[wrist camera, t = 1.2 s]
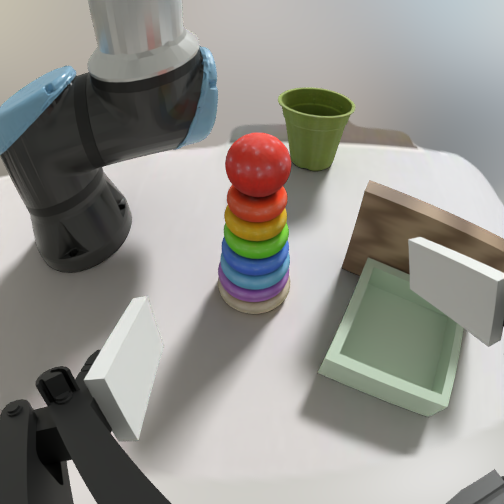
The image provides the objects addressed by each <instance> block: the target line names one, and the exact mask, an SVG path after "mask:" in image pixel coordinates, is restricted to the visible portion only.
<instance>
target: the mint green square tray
mask: <svg viewBox="0 0 504 504" xmlns="http://www.w3.org/2000/svg"><path fill="white" fill-rule="evenodd" d="M463 330H464V328H463V327H462V326H460V325H459V324H458V323H456V322H455V321H454V320H452V319H451V318H450V317H448V316H447V315H445V314H444V313H443V312H441V311H440V310H439V309H437V308H436V307H435V306H433V305H432V304H430V303H429V302H428V301H426V300H425V299H423V298H422V297H421V296H419V295H418V294H416V293H415V292H414V291H412V290H411V289H410V275H409V274H407V273H405V272H402V271H400V270H397V269H395V268H393V267H390V266H388V265H386V264H383V263H381V262H378V261H376V260H373V259H371V258H369V257H368V258H367V261H366V263H365V266H364V268H363V271H362V273H361V276H360V278H359V280H358V283H357V285H356V288H355V290H354V293H353V295H352V298H351V300H350V302H349V305H348V307H347V309H346V312H345V314H344V316H343V319H342V321H341V323H340V325H339V328H338V330H337V332H336V334H335V337H334V339H333V341H332V343H331V345H330V347H329V350H328V352H327V354H326V356H325V358H324V360H323V362H322V364H321V366H320V368H319V370H318V372H317V373H319V374H321V375H324V376H326V377H328V378H330V379H333V380H335V381H337V382H340V383H342V384H344V385H347V386H349V387H351V388H354V389H356V390H359V391H361V392H364V393H366V394H369V395H371V396H373V397H376V398H379V399H381V400H384V401H386V402H389V403H391V404H394V405H397V406H399V407H402V408H404V409H407V410H410V411H413V412H415V413H418V414H421V415H424V416H426V417H430V416H432V415H433V414H435V413H437V412H439V411H441V410H443V409H445V408H447V407H448V403H449V399H450V396H451V391H452V387H453V383H454V379H455V374H456V369H457V364H458V359H459V354H460V349H461V343H462V337H463Z"/></svg>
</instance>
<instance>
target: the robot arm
mask: <svg viewBox="0 0 504 504" xmlns="http://www.w3.org/2000/svg"><path fill="white" fill-rule="evenodd" d="M88 3H89V7H90V13H91V18H92V22H93V27H94V31H95V36H96V40H97V44H98V47H97V48H96V50H95V51H94V52H93V54H92V55H91V57H90V59H89V61H88V70H89V72H88V73H85V74H82V75H79V76H76V71H75V70H74V69H73V68H72V67H71V66H64V67H62V68H58V69H55V70H53V71H51V72H49V73H47V74H45V75H43V76H41V77H39V78H38V79H36V80H34V81H33V82H31V83H30V84H28V85H26V86H25V87H23V88H22V89H20V90H19V91H18V92H17V93H15V94H14V95H13V96H12V97H10V98H9V99H8V100H7V101H6V102H5V103H3V104H2V106H0V157H1V159H2V161H3V163H4V165H5V167H6V169H7V171H8V173H9V175H10V177H11V179H12V181H13V183H14V185H15V187H16V189H17V191H18V193H19V195H20V196H21V198H22V200H23V202H24V204H25V205H26V207H27V209H28V211H29V213H30V215H31V221H32V226H33V231H34V236H35V241H36V245H37V248H38V251H39V253H40V254H41V256H42V257H43V259H44V260H45V262H46V263H47V264H48V265H49V266H50V267H51V268H53V269H55V270H58V271H61V272H77V271H81V270H85V269H88V268H90V267H93V266H95V265H97V264H99V263H100V262H102V261H104V260H105V259H107V258H108V257H109V256H110V255H112V254H113V253H114V252H115V251H116V250H117V249H118V248H119V247H120V246H121V244H122V243H123V242H124V240H125V239H126V237H127V235H128V233H129V231H130V228H131V223H132V216H131V212H130V209H129V206H128V203H127V201H126V199H125V197H124V196H123V194H122V193H121V192H120V191H119V190H118V189H117V187H116V186H115V185H114V184H113V183H112V182H111V180H110V179H109V178H108V177H107V176H106V174H105V173H104V172H103V169H102V167H103V166H107V165H110V164H114V163H117V162H121V161H125V160H129V159H133V158H137V157H141V156H146V155H150V154H154V153H159V152H163V151H168V150H172V149H173V150H176V149H179V148H181V147H183V146H186V145H189V144H193V143H196V142H200V141H202V140H204V139H205V138H206V137H207V136H208V135H209V134H210V132H211V130H212V128H213V125H214V123H215V119H216V112H217V103H218V90H217V87H216V82H217V72H216V66H215V61H214V58H213V56H212V53H211V52H210V51H209V49H207V48H205V47H201V46H200V45H199V39H198V37H197V36H196V35H195V34H194V33H192V32H191V31H189V30H188V29H186V28H185V27H183V7H182V0H88ZM408 245H409V270H410V289H411V290H412V291H414V292H415V293H416V294H418V295H419V296H421V297H422V298H423V299H425V300H426V301H428V302H429V303H430V304H432V305H433V306H435V307H436V308H437V309H439V310H440V311H441V312H443V313H444V314H445V315H447V316H448V317H450V318H451V319H452V320H454V321H455V322H456V323H458V324H459V325H460V326H462V327H463V328H464V329H466V330H467V331H468V332H470V333H471V334H472V335H474V336H475V337H476V338H478V339H479V340H480V341H481V342H483V343H484V344H485V345H487V346H488V347H489V346H491V345H493V344H495V343H496V342H498V341H500V340H501V336H502V331H503V326H504V273H503V272H501V271H499V270H496V269H494V268H492V267H490V266H488V265H485V264H483V263H481V262H479V261H476V260H474V259H472V258H470V257H467V256H465V255H463V254H460V253H458V252H456V251H453V250H451V249H449V248H446V247H444V246H442V245H439V244H437V243H434V242H432V241H429V240H427V239H424V238H422V237H417V238H412V239H408ZM163 348H164V343H163V340H162V338H161V335H160V332H159V329H158V326H157V323H156V320H155V317H154V314H153V311H152V308H151V305H150V302H149V299H148V296H144V297H138V298H133V299H132V301H131V303H130V304H129V306H128V307H127V309H126V310H125V312H124V314H123V315H122V317H121V318H120V320H119V322H118V323H117V325H116V326H115V328H114V330H113V331H112V333H111V335H110V336H109V338H108V340H107V341H106V343H105V345H104V346H103V348H102V350H97V351H96V352H94V353H93V354H92V355H91V356H90V357H89V358H88V359H87V361H86V363H85V364H84V365H85V366H83V368H82V369H81V372H80V373H79V374H78V376H77V377H76V379H74V377H73V375H72V373H71V371H70V369H69V368H67V367H63V366H60V367H55V368H52V369H49V370H47V371H46V372H44V373H43V374H42V375H40V376H39V377H38V379H37V381H36V387H37V389H38V390H39V392H40V394H41V396H42V397H43V399H44V401H45V402H46V404H47V406H48V407H44V408H40V409H36V410H33V408H32V407H31V405H30V403H29V402H28V401H27V400H22V399H21V400H16V401H14V402H10V403H9V404H8V405H6V407H5V408H4V409H3V410H2V413H1V415H0V504H74V503H73V498H72V492H71V487H70V481H69V475H68V469H67V460H73V462H74V464H75V465H76V468H77V469H78V471H79V473H80V475H81V477H82V479H83V480H84V482H85V484H86V486H87V487H88V489H89V491H90V492H91V494H92V496H93V497H94V499H95V501H96V502H97V504H171V503H170V502H169V501H168V500H167V499H166V498H165V497H164V495H162V493H161V492H160V491H159V490H158V489H157V488H156V487H155V486H154V485H153V484H152V483H151V482H150V481H149V479H148V478H147V477H146V476H145V475H144V474H143V473H142V472H141V470H140V469H139V468H138V467H137V466H136V465H135V463H134V462H133V461H132V460H131V459H130V457H129V456H128V455H127V454H126V453H125V451H124V450H123V449H122V448H121V446H120V445H119V444H118V443H117V441H116V440H115V439H114V437H113V436H112V435H111V431H113V433H114V434H115V436H116V438H117V439H118V441H138V440H139V436H140V432H141V428H142V424H143V420H144V417H145V413H146V409H147V405H148V401H149V398H150V394H151V390H152V387H153V383H154V379H155V376H156V372H157V369H158V365H159V362H160V358H161V355H162V351H163ZM446 504H504V476H502V477H500V475H499V474H498V473H497V472H496V470H495V469H494V470H493V471H491V472H490V473H488V474H487V475H485V476H484V477H482V478H480V479H479V480H477V481H476V482H474V483H473V484H471V485H469V486H467V487H466V488H464V489H462V490H461V491H460V492H459V493H458V494H456V495H455V496H454V497H453V498H452V499H451V500H450V501H449V502H447V503H446Z"/></svg>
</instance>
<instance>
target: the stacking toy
mask: <svg viewBox="0 0 504 504" xmlns="http://www.w3.org/2000/svg"><path fill="white" fill-rule="evenodd" d="M225 166H226V172H227V176H228V178H229V180H230V182H231V183H232V186H231V187H230V189H229V191H228V194H227V203H228V205H227V207H226V210H225V215H224V217H225V222H226V223H225V226H224V238H223V241H222V253H221V261H220V263H219V268H218V275H219V278H218V287H219V291H220V294H221V296H222V298H223V299H224V300H225V302H226V303H227V304H228V305H230V306H231V307H232V308H234V309H236V310H238V311H241V312H244V313H249V314H260V313H265V312H268V311H271V310H273V309H275V308H276V307H278V306H279V305H280V304H281V303H282V302H283V301H284V300H285V298H286V297H287V295H288V293H289V289H290V277H289V264H290V256H289V252H288V251H289V244H288V235H289V229H288V225H287V223H286V221H287V212H286V209H285V207H286V204H287V192H286V190H285V188H284V187H283V185H284V184H285V183H286V181H287V179H288V177H289V175H290V171H291V159H290V155H289V152H288V150H287V148H286V147H285V145H284V144H283V143H282V142H281V141H280V140H278V139H277V138H276V137H274V136H272V135H269V134H266V133H251V134H247V135H245V136H242V137H241V138H239V139H238V140H237V141H235V142H234V143H233V145H232V146H231V147H230V149H229V151H228V153H227V156H226V162H225Z"/></svg>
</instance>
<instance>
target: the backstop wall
mask: <svg viewBox="0 0 504 504" xmlns="http://www.w3.org/2000/svg"><path fill="white" fill-rule="evenodd" d="M417 237H422V238H424V239H427V240H429V241H432V242H434V243H437V244H439V245H442V246H444V247H446V248H449V249H451V250H453V251H456V252H458V253H460V254H463V255H465V256H467V257H470V258H472V259H474V260H476V261H479V262H481V263H483V264H485V265H488V266H490V267H492V268H494V269H496V270H499V271H501V272H503V273H504V239H503V238H501V237H499V236H497V235H495V234H493V233H491V232H489V231H487V230H485V229H483V228H481V227H479V226H477V225H475V224H473V223H471V222H468V221H466V220H464V219H462V218H460V217H458V216H456V215H453V214H451V213H449V212H447V211H444V210H442V209H440V208H438V207H435V206H433V205H431V204H428V203H426V202H424V201H421V200H419V199H416V198H414V197H412V196H409V195H407V194H404V193H402V192H399V191H397V190H394V189H392V188H389V187H386V186H384V185H381V184H378V183H376V182H373V181H370V180H369V183H368V185H367V187H366V189H365V192H364V196H363V200H362V203H361V207H360V210H359V214H358V217H357V220H356V224H355V227H354V230H353V234H352V237H351V240H350V243H349V247H348V250H347V253H346V256H345V259H344V262H343V265H342V269H345V270H347V271H350V272H352V273H354V274H357V275H359V276H361V273H362V271H363V268H364V266H365V263H366V261H367V258H368V257H369V258H371V259H373V260H376V261H378V262H381V263H383V264H386V265H388V266H390V267H393V268H395V269H397V270H400V271H402V272H405V273H407V274H409V275H410V270H409V245H408V239H412V238H417Z"/></svg>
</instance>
